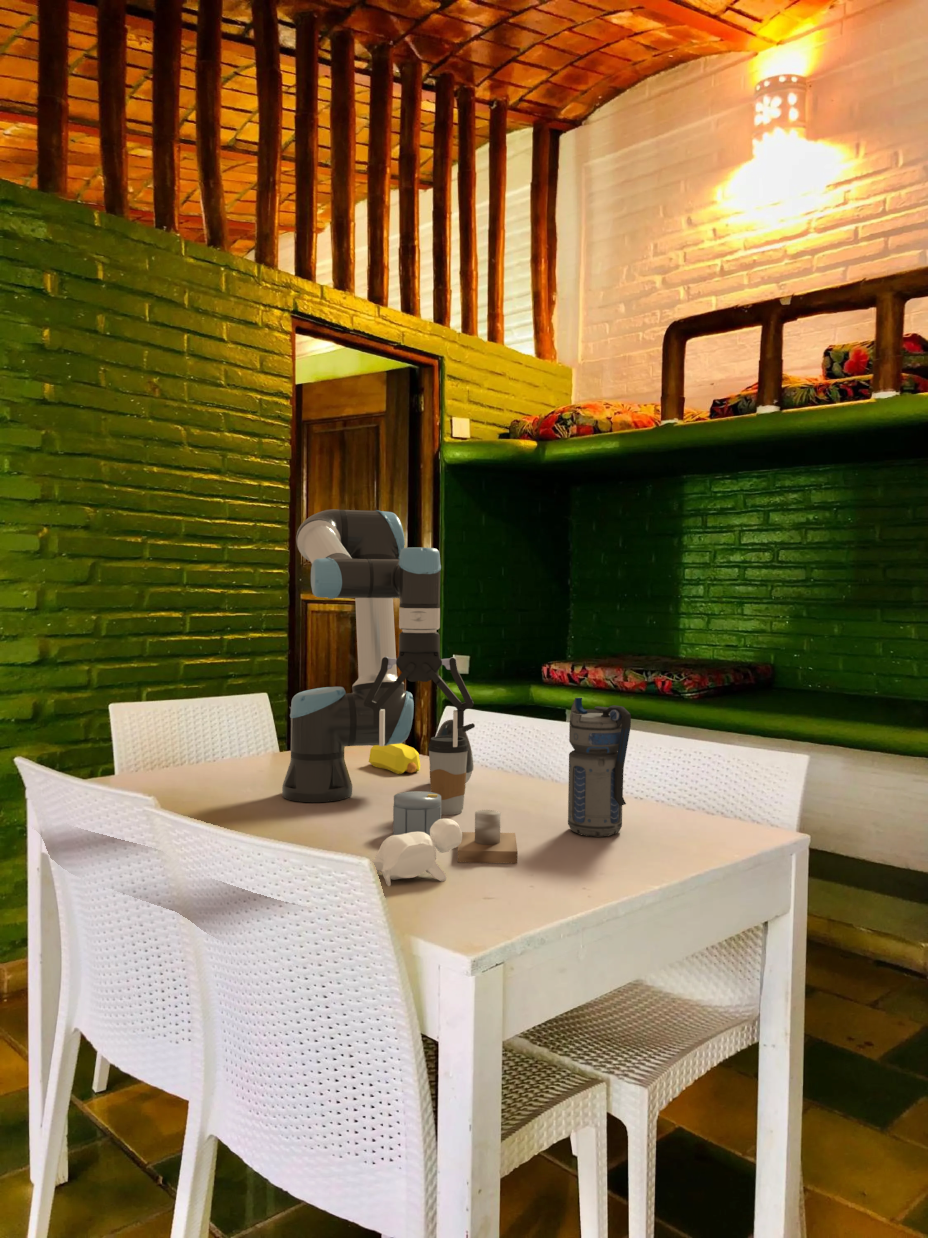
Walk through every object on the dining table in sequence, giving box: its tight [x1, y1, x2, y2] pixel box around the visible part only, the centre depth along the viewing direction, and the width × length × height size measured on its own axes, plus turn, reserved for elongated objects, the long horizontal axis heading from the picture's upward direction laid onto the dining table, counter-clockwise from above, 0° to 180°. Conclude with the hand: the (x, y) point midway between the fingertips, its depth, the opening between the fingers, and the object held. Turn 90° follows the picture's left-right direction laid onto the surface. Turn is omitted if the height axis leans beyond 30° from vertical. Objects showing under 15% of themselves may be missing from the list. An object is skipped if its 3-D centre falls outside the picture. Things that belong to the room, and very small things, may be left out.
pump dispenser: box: [435, 719, 476, 784], centre depth 223 cm, size 10×10×15 cm
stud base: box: [457, 809, 518, 864], centre depth 168 cm, size 10×12×7 cm
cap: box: [392, 790, 442, 836], centre depth 180 cm, size 9×9×7 cm
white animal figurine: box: [371, 818, 463, 887], centre depth 154 cm, size 8×8×15 cm
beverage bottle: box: [567, 697, 632, 837], centre depth 182 cm, size 10×13×25 cm
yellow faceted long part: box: [368, 743, 422, 775], centre depth 242 cm, size 18×7×8 cm
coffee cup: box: [427, 736, 469, 816], centre depth 197 cm, size 8×8×15 cm
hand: (418, 745), depth 179 cm, fingers open, 13 cm apart
